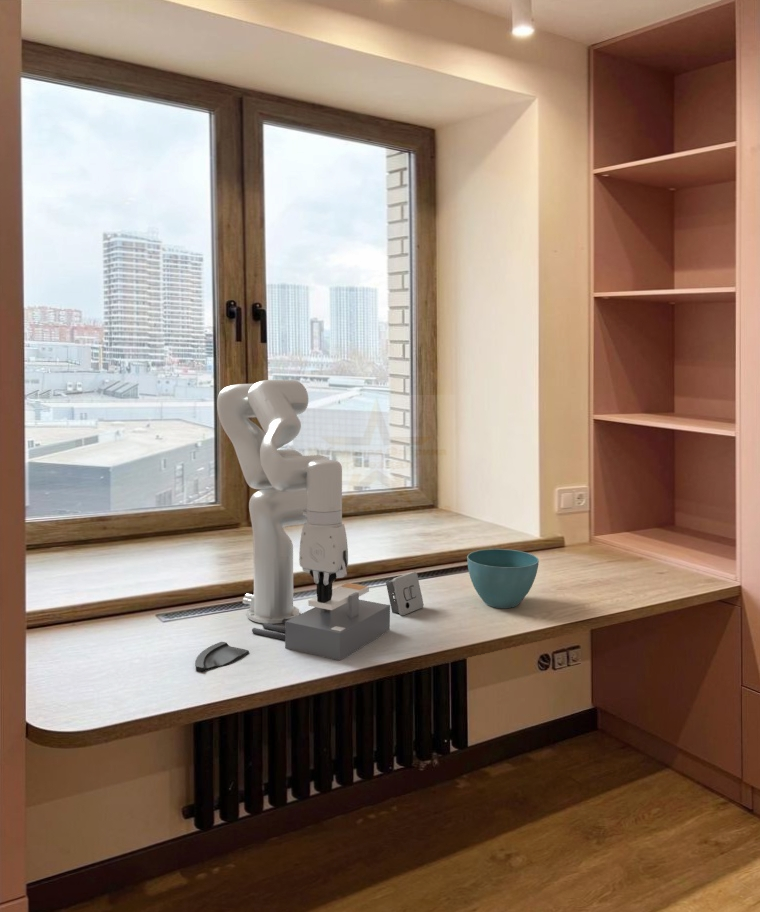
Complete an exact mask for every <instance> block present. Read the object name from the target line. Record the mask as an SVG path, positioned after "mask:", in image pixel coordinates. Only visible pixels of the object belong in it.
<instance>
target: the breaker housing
mask: <svg viewBox="0 0 760 912" xmlns="http://www.w3.org/2000/svg"><path fill="white" fill-rule="evenodd" d="M359 597H360V596H359V593H358V592H355V593H353V594H351V595H349V602H347V603H345V604H343V605H341V606H339V607H337V608H335V609H333V610H328V609H322V608H317V607H313V608H311V609H307V611H304V612H301V613H300V615H298V616H296V617H294V618H291V619H289V620H287V621H285V624H284V627H285V633H284V634H285V640H284V644H285V645H284V647H285V649H287V650H292V651H295V652H302V653H305V654H310V655H313V656H318V657H322V658H327V659H332V660H335V661H342V660H343V659H345V658H347V657H349V655H351V654H353V653H355V652H356V651H359V650H360V649H361V648H363V647H364V646H367V645H368V644H369V643H371V642H372V641H375V640H376V639H378V638H379V637H381V636H383V635H384V634H386V633H388V632H390V629H391V628H390V627H391V604H385V603H381V602H374V601H369V600H365V599H360V598H359ZM387 631H388V632H387ZM382 634H383V635H382Z"/></svg>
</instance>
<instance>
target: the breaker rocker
mask: <svg viewBox="0 0 760 912" xmlns="http://www.w3.org/2000/svg"><path fill="white" fill-rule="evenodd" d="M355 592H358V593H359V597H361V596H363V595H365V594H367V593H369V592H370V586H367V585H362V584H356V583H351V582H345V583H343V584H341V585H338V586H337V587H334V588H332V597H331V600H330V601H327V602H325V603H322V602H318V601H317V596H315V597H313V598H311V599H308V601H307V605H308V606H309V607H313V608H314V607H317V608H322V609H328V610H333V609H335V608H337V607H339V606H341V605H343V604H345V603H347V602H349V595H351V594H353V593H355Z"/></svg>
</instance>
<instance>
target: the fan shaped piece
mask: <svg viewBox="0 0 760 912" xmlns="http://www.w3.org/2000/svg"><path fill="white" fill-rule="evenodd" d="M249 654H250V650H248V649H244V648H240V647H235V646H231V645H229V644H228V642H225V641H219V642H217V643H214V644H212V645H210V646H209V647H207V648H205V649H203V650H202V651H201V652H200V653H198V655H197V657H196V658H195V664H194V665H195V671H196V672H198V673H204V672H207V671H210V670H213V669H217V668H221V667H226V666H230V665H231V664H233V663H235V662H237V661H239V660H240V659H243V658H244V657H246V656H247V655H249Z"/></svg>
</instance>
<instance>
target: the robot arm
mask: <svg viewBox="0 0 760 912" xmlns="http://www.w3.org/2000/svg"><path fill="white" fill-rule="evenodd" d="M308 406H309V394H308V391H307V389H306V388H305V386H304V384H303V383H302V382H300V381H299V380H296V379H264V380H259V381H257V382H255V383H237V384H231V385H228V386H225V387H224V388H222V389H221V390H220V391H219V393H218V395H217V400H216V407H217V409H216V410H217V414H218V415H217V416H218V419H219V422H220V425H221V427H222V429H223V430H224V431H223V432H225V434H226V435H227V437H228V438H229V440H230V442H231V443H232V445H233V446H232V447H233V448H234V451H235V454H236V456H237V459H238V463H239V465H240V466H239V467H240V468H241V473H242V475H243V477H244V480H245V482H246V484H247V485H248V486H249V488H251V489H253V490H254V489H255V490H257V491H256V492H254V493H253V494H252V495H251V497H250V499H249V502H248V509H249V510H248V511H249V515H250V522H251V529H252V538H253V539H252V540H253V541H252V542H253V594H252V593H246V594H244V596H243V598H242V604H245V605H249V609H248V610H247V614H246V615H247V618H248V619H249V620H250V621H253V622H255V623H259V624H264V623H268V624H273V625H277V624H283V623H282V620H283V619H291V618H294V617H296V616H298V615H300V614H301V613H300V609H299V608H298V607H297V606H294V544H293V542H292V539H291V538H290V536H289V535H288V534H287V533H286V531H285V528H286V527H289V526H290V527H292V526H298V525H299V526H300V525H302V529H301V533H300V541H299V556H298V557H299V558H298V562H299V566H300V567H301V568H302V571H303V572H305V573H307V574H308V575H309V574H310V576H311V577H312V578H313V582H314V583H315V584H316V597H317V601H318V602H322V603H325V602H327V601H330V600H331V597H332V589H333V583H335V581H336V580H337V579H338V578H339V579H340V578H341V579H342V578H345V577H347V575H348V573H347V568H348V566H349V547H348V538H347V537H348V536H347V532H346V526H345V523H344V524H343V467H342V464H341V463H340V462H339V461H338V460H335V459H329V458H327V457H326V456H324V455H320V454H319V455H318V454H314V455H313V454H312V455H303V454H302V453H301V452H300V451H298V450H295V449H288V448H287V449H280V448H282V447H284V446H285V445H288V444H289V443H290V442H292V441H294V439H296V438H297V437H298V435H299V433H300V431H301V428H302V427H301V426H302V424H301V420H300V419H299V416H298V415H300V414H302V413H304V412H305V411H306V410H307V409H308ZM250 418H256V419H257V421H258V424H259V425H260V427H259V425H257V424H256V423H254V422H253V421H252V420H251V419H250ZM261 428H262V429H261Z"/></svg>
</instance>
